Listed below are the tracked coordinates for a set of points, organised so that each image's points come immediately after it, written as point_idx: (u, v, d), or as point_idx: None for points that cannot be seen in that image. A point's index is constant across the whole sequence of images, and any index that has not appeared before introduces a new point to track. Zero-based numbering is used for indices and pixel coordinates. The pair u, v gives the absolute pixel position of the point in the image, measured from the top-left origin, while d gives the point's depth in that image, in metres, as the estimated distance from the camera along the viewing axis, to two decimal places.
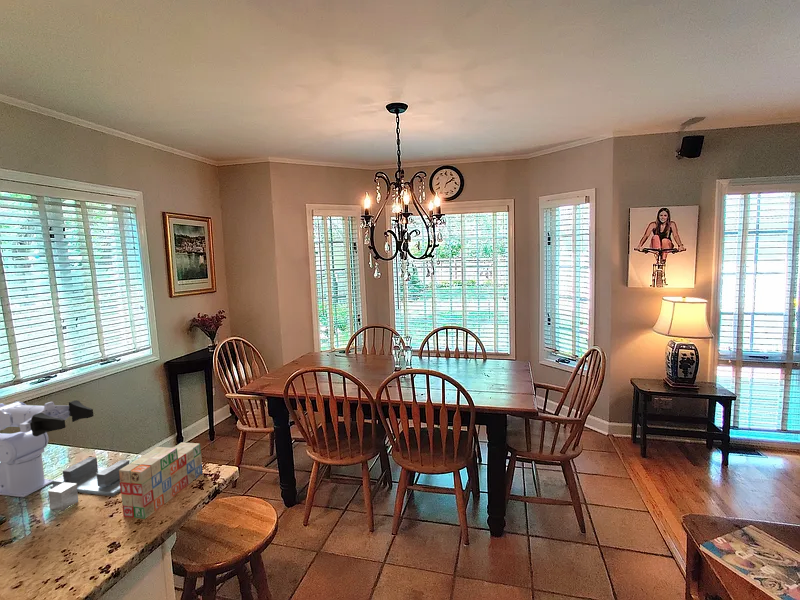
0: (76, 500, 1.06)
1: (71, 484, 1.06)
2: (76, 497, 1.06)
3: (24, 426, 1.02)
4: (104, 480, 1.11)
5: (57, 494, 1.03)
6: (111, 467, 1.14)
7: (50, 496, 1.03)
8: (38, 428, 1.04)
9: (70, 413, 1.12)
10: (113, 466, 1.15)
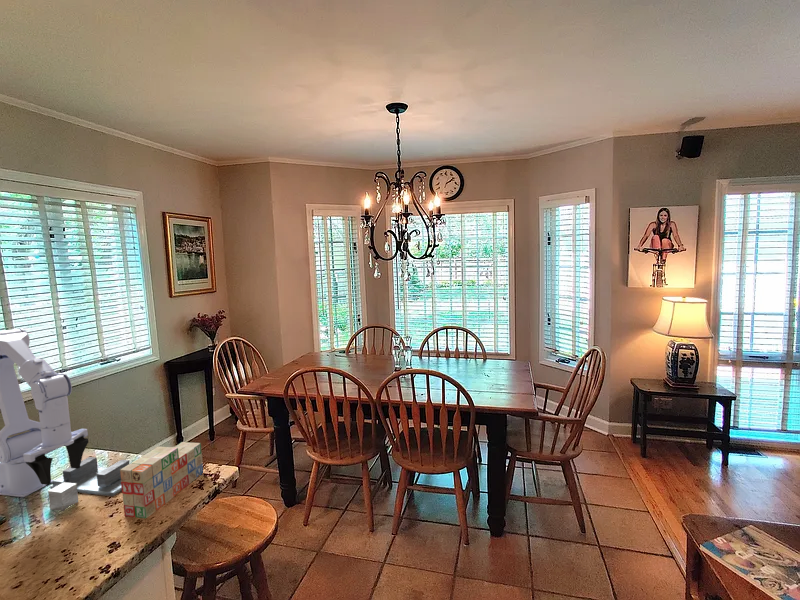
0: (76, 500, 1.06)
1: (71, 484, 1.06)
2: (76, 497, 1.06)
3: (29, 460, 0.96)
4: (104, 480, 1.11)
5: (57, 494, 1.03)
6: (111, 467, 1.14)
7: (50, 496, 1.03)
8: None
9: None
10: (113, 466, 1.15)
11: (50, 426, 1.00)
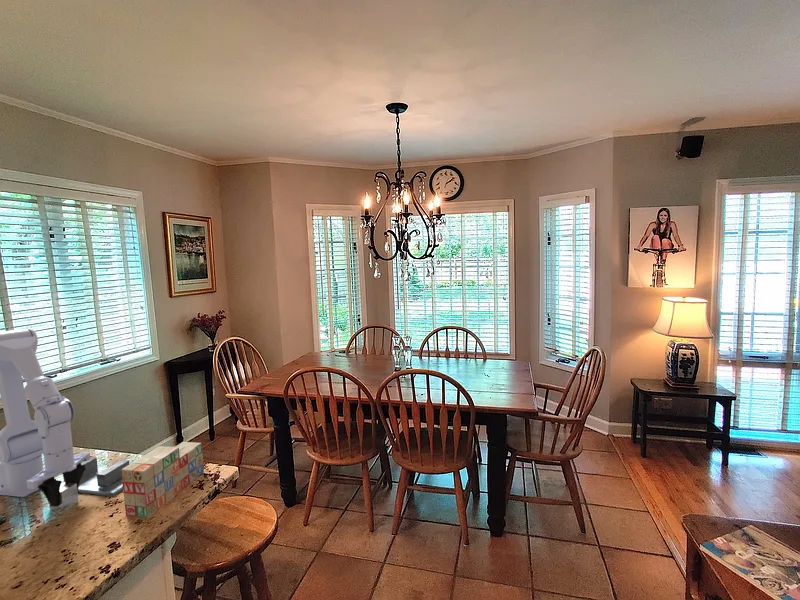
0: (76, 500, 1.06)
1: (71, 484, 1.06)
2: (76, 497, 1.06)
3: (32, 487, 0.97)
4: (104, 480, 1.11)
5: None
6: (111, 467, 1.14)
7: None
8: None
9: None
10: (113, 466, 1.15)
11: (53, 452, 1.01)
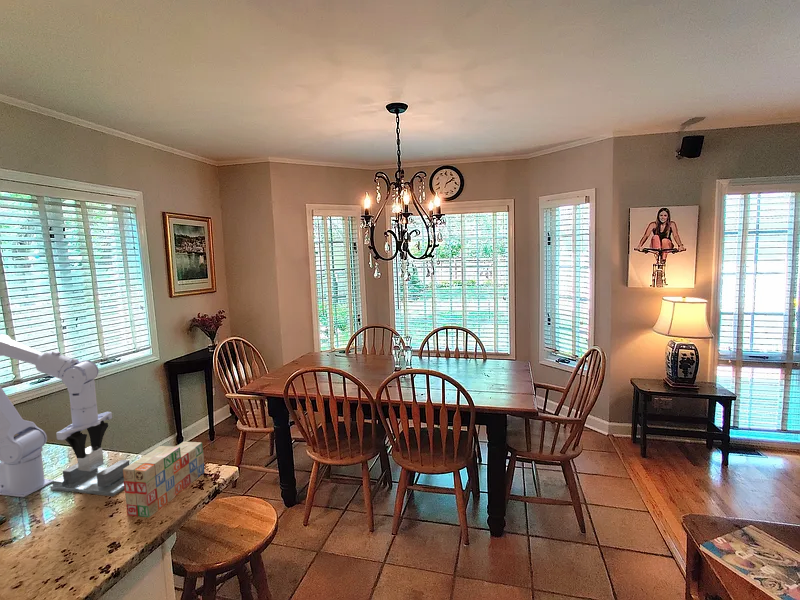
0: (102, 462, 1.16)
1: (97, 447, 1.15)
2: (102, 459, 1.16)
3: (61, 438, 1.06)
4: (104, 480, 1.11)
5: (85, 455, 1.12)
6: (111, 467, 1.14)
7: None
8: None
9: (92, 425, 1.16)
10: (113, 466, 1.15)
11: (87, 406, 1.11)
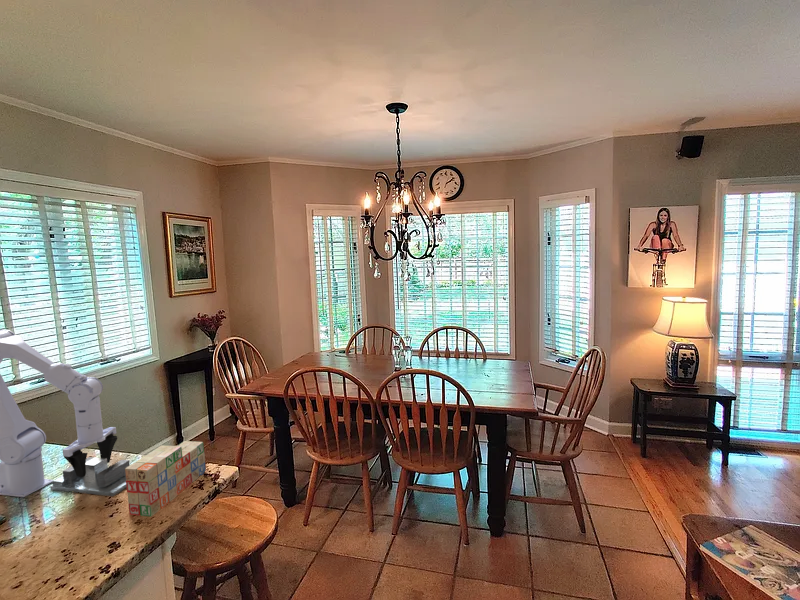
0: None
1: (102, 459, 1.17)
2: None
3: (67, 455, 1.08)
4: (104, 480, 1.11)
5: (90, 467, 1.14)
6: (111, 467, 1.14)
7: None
8: None
9: None
10: (113, 466, 1.15)
11: (93, 423, 1.13)
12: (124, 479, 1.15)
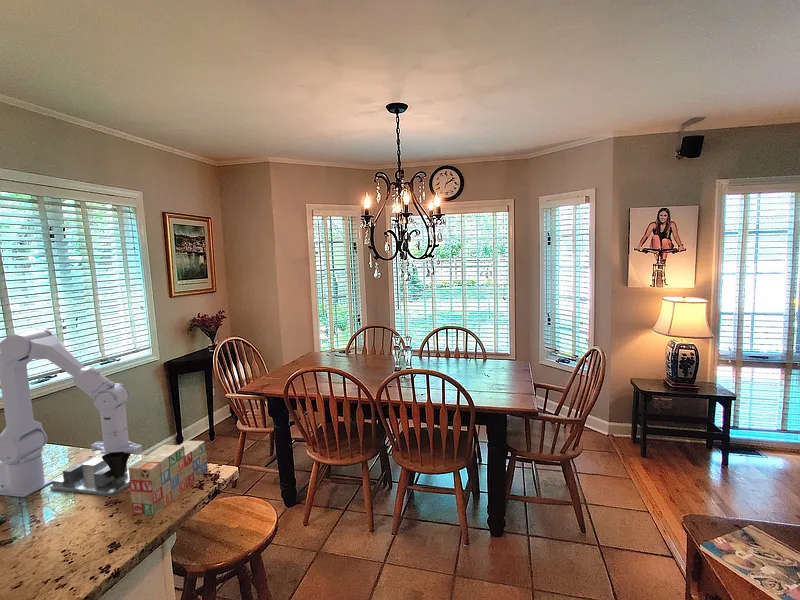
0: None
1: (102, 459, 1.17)
2: None
3: None
4: (101, 480, 1.11)
5: (90, 467, 1.14)
6: (108, 467, 1.15)
7: (83, 469, 1.14)
8: None
9: None
10: None
11: (118, 430, 1.11)
12: (124, 479, 1.15)
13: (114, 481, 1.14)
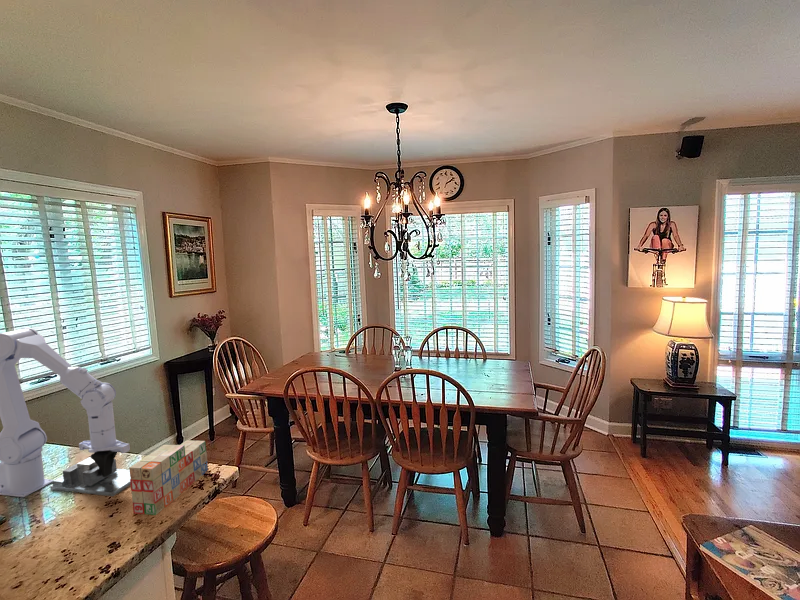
0: None
1: None
2: None
3: None
4: (90, 479, 1.12)
5: (85, 466, 1.14)
6: (97, 466, 1.15)
7: (79, 468, 1.14)
8: None
9: None
10: None
11: (106, 429, 1.12)
12: (124, 479, 1.15)
13: (114, 481, 1.14)
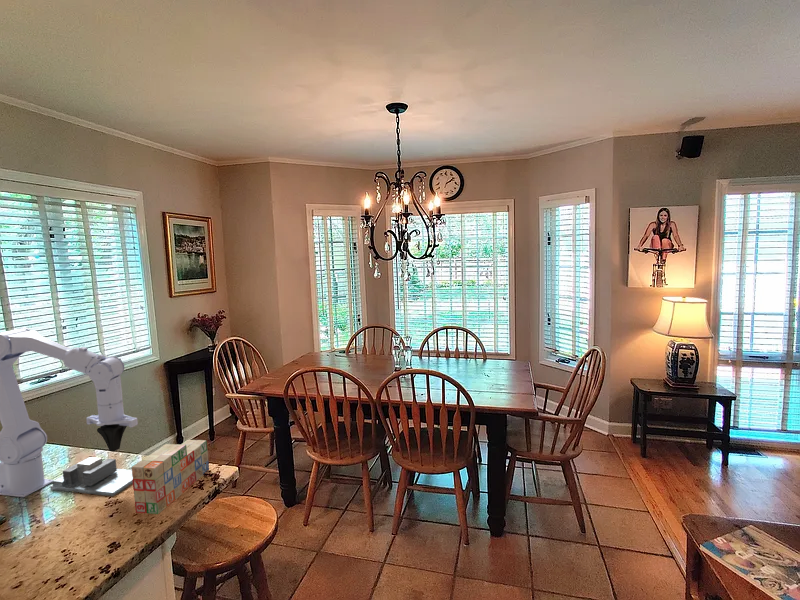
0: None
1: (97, 458, 1.17)
2: None
3: None
4: (90, 479, 1.12)
5: (85, 466, 1.14)
6: (97, 466, 1.15)
7: (79, 468, 1.14)
8: None
9: None
10: (99, 465, 1.16)
11: (113, 402, 1.11)
12: (124, 479, 1.15)
13: (114, 481, 1.14)
